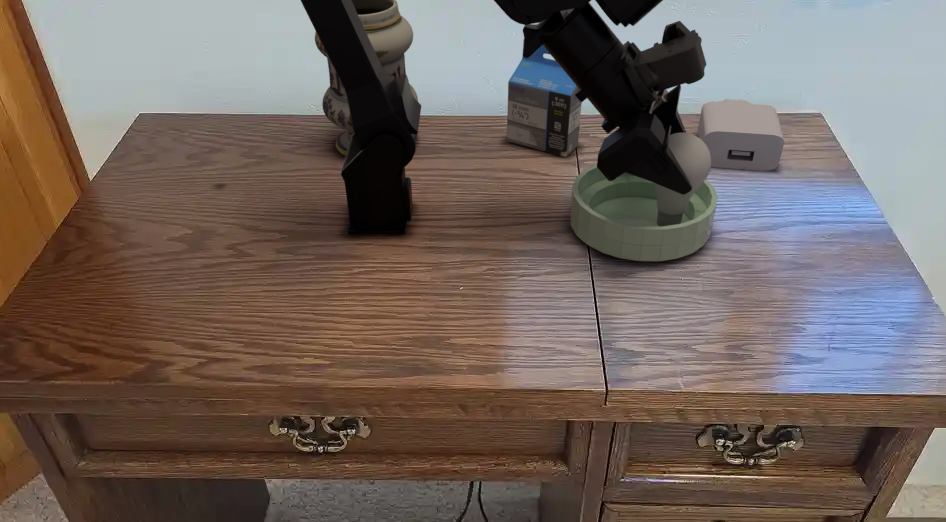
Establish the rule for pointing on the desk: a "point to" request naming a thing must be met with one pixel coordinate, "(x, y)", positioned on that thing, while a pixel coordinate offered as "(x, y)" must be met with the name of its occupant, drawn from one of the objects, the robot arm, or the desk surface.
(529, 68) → the blue grey carton
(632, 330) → the desk surface
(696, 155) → the lightbulb
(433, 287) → the desk surface
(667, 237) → the bowl
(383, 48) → the apothecary jar
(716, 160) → the charger
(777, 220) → the desk surface
